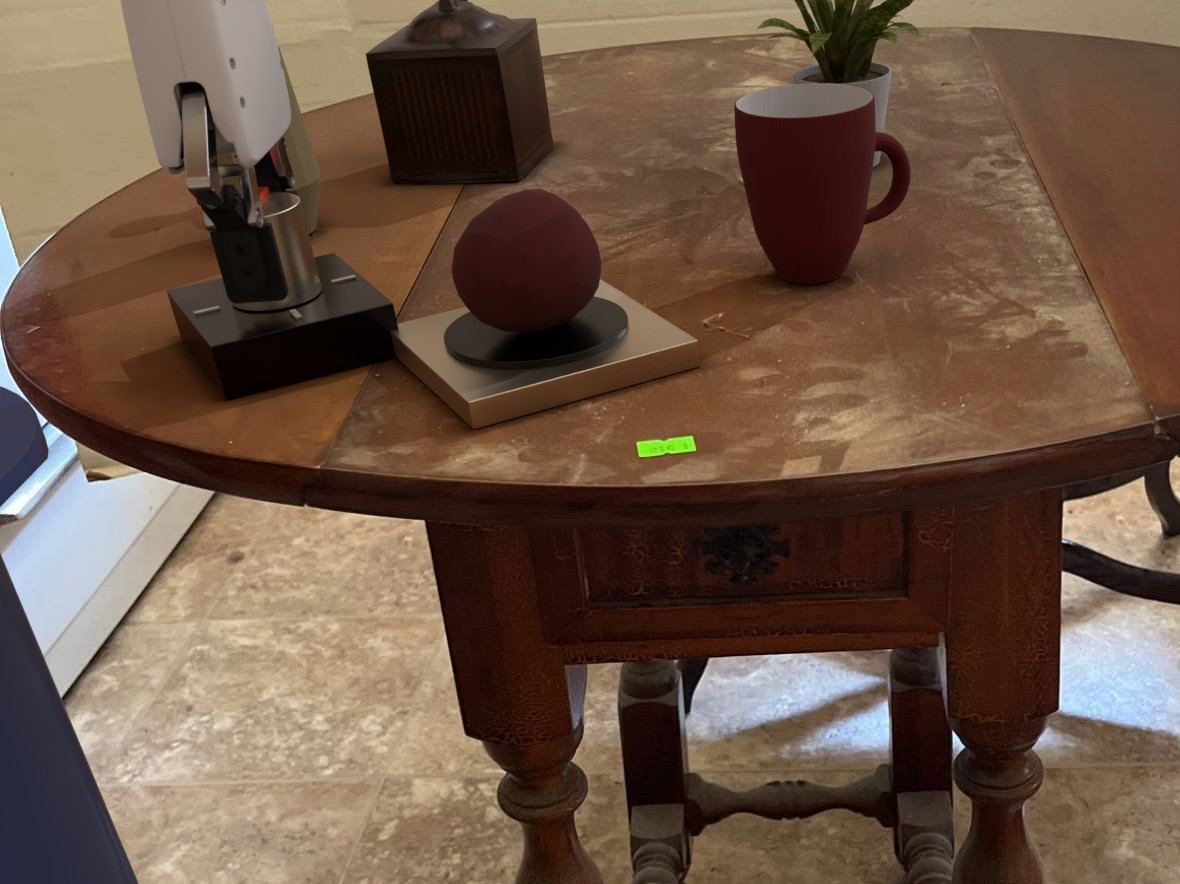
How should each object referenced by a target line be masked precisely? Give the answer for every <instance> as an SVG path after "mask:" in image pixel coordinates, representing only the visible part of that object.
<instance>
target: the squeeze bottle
mask: <svg viewBox="0 0 1180 884" xmlns="http://www.w3.org/2000/svg"><path fill="white" fill-rule="evenodd" d="M278 50H279V54H280V58H281V62H282V67H283V71H284V75H285V80H286V85H287V89H288V95H289V101H290V107H291V122H290V125H289V127H288V129H287V130H286V132H285V133H284V134H283V135H282V137H284V138H285V141H284V145H286V149H285V150H286V153H287V156H288V159H289V162H290V165H291V168H292V171H293V174H294V181H295V186H294V189H286V191H293V190H297V194H298V197H299V198H300V201H301V205H302V209H303V213H304V217H305V221H306V225H307V230H308V234H309V235H310V234H311V233H313V232H314V231H315V230H316V229H317V223H318V211H319V209H318V208H319V197H320V184H321V173H322V171H321V169H320V166H319V163H318V160H317V156H316V154H315V151H314V147H313V144H312V142H311V139H310V135H309V133H308V129H307V127H306V124H305V120H304V118H303V114H302V111H301V108H300V105H299V102H298V100H297V96H296V94H295V91H294V87H293V84H292V81H291V79H290V76H289V72H288V69H287V66H286V63H285V60H284V58H283V54H282V51H281V48H280V46H278ZM228 164H233V163H232V160H231V157H230V155H229V153H219V154H217V165H228ZM223 179H224V183H225V185H226V184H232V185H234V187H235V188H236V190H238V192H239V194H242V189H241V184H240V182H239V179H238V177H236V178H223Z"/></svg>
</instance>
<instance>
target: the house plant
mask: <svg viewBox="0 0 1180 884" xmlns="http://www.w3.org/2000/svg"><path fill="white" fill-rule="evenodd" d="M793 1H794V2H795V4H796V6H797V8H798V10H799V12H800V15H801V16H802V18H803V21H804V23H805V25H806V28H807V30H808V31H806V30H805V29H803V28H798V27H796V26H795V25H794V24H792V23H790V22H788V21H787V20H784V19H782V18H777V17H772V18H771V17H770V18H768V19H765V20H764V21H762V23H761V24H760V25H759V26H758V27H757V29H756V31H758V30H759V29H763V28H771V27H775V28H781V29H782V28H783V29H784V31H791V32H793V33H788V32H783V33H776V34H772V35H770V36H769V37H767V38H766V40H769V39H774V38H780V37H781V38H783V37H787V38H793V39H797V40H799V41H802V42H804V43H805V45H806V46H807V48H808V49H809V51H810V52H811V57H812V60H813V58H814V59H815V60H816V62H817V63H816V64H811V65H808V66H804V67H802V68H800V69H798V70H796V71H794V72H793V76H792V78H793V84H806V83H833V84H844V85H852V86H857V87H861V88H864V89H866V90H868V91H870V92H871V93H872V94H873V95H874V98H875V120H876V132H881V133H885V125H886V119H887V111H888V103H889V95H890V89H891V82H892V76H893V75H892V73H893V69H892V68H891V66H890V65H887V64H885V63H881V62H876V61H873V58H874V57H873V56H874V53H875V49H876V46H877V42H879V40H880V39H882V40H885V41H888V42H890V43H891V44H894V46H895V47H896V49H899V47H898V44H897V39H898V38H897V37H898V35H897V34H896V33H894V32H892V31H886V30H887V29H889V28H891V27H895V28H899V29H902V30H904V31H906V32H908V33H910V34H912V35H913V36H914V37H915V38H916V39H917V41H918V43H919V45H920V46H921V40H920V32H919V29H918V28H917V27H916V25H914V24H912V23H910V22H906V21H905V22H904V21H898V22H895V21H893V20H892V19H894V18H897V17H901V18H902V19H904V17H903V16H902V15H899V14H898V13H900V12H902V11H903V10H905V9H906V8H908V7H910V6H911V5H912V4H913V2H914V0H884V1H882V2H881V3H880V4H877V5H876V6H874V7H872V5H873V3H874V1H875V0H833V1H832V0H806V1H807V4H808V7H809V8H810V11H811V13H812V15H813V18H814V19H813V18H812V16H811V14H810V12H809V10H808V8H807V6H806V4H805V1H804V0H793ZM833 3H834V4H833ZM814 20H815V21H814ZM815 22H816V23H815ZM816 24H817V25H816ZM889 24H890V25H889ZM794 33H795V34H794ZM881 154H882V151H876V152H875V154H874V162H873V168H874V167H876V166H878V165H879V164H880V160H881Z"/></svg>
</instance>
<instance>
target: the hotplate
mask: <svg viewBox="0 0 1180 884" xmlns="http://www.w3.org/2000/svg"><path fill="white" fill-rule="evenodd" d="M397 324H398V329H399V330H395V331H391V337H392V341H393V346H394V351H395V355H396V357H395V358H397V359H398V360H399V361H400V362H401V363H402V364H403V365H404V366H405V367H406V368H407V369H408V370H409V371H410V372H412V373H413V375H415V376H416V377H417V378H418V379H419V380H420V381H421V382H422V383H423V384H425V386H426V387H427V388H429V389H430V390H431V391H432V392H433V393H434V394H435V395H436V396H437V397H438V398H439V399H440V400H441V401H443V402H444V403H445V405H447V406H448V407H449V408H450V409H451V410H452V412H454V413H455V414H456V415H458V416H459V418H461V420H463V421H464V422H465V423H466V424H467V425H468V426H469V427H470V428H472V430H478V429H482V428H484V427H488V426H492V425H495V424H498V423H502V422H506V421H510V420H513V419H517V418H520V417H524V416H527V415H531V414H534V413H538V412H542V411H545V410H548V409H552V408H555V407H559V406H563V405H567V404H570V403H573V402H578V401H581V400H585V399H588V398H591V397H592V398H593V397H595V396H598V395H602V394H603V395H604V394H606V393H610V392H613V391H617V390H621V389H623V388H627V387H631V386H634V385H635V386H636V385H638V384H641V383H645V382H648V381H653V380H656V379H659V378H663V377H666V376H670V375H674V374H678V373H681V372H684V371H689V370H692V369H696V368H699V367H700V366H701V362H700V350H699V341H698V339H697V338H695V337H693V336H691V334H689V333H687V332H686V331H684V330H683V329H681V328H679V327H677V326H676V325H674V324H673V323H671V322H669V320H667V319H665V318H663V317H662V316H660V315H658V314H657V313H655V312H653V311H652V310H651V309H649V308H647V307H646V306H644V305H643V304H641V303H639V302H638V301H636V300H635V299H633V298H632V297H630V296H628V295H627V294H625V293H623V292H622V291H621V290H619V289H617V288H616V287H614V286H613V285H611V284H609V283H608V282H606V281H604V280H603V279H601V278H600V282H599V287H598V289H597V291H596V293H595V295H594V297H593V299H592V300H591V301H590V302H589V303H588V304H587V305H586V306H585V307H584V308H583V309H582V310H581V311H580V312H579V313H578V314H577V315H575V316H574V317H573V318H572V319H570V320H568V321H566V322H564V323H562V324H560V325H557V326H554V327H551V328H548V329H544V330H541V331H536V332H527V333H526V332H505V331H502V330H499V329H497V328H494V327H492V326H489V325H487V324H484V323H482V322H481V321H480V320H479V319H477V318H476V317H475V316H474V315H473V314H472V313H471V312H470V311H469V310H468V308H467V307H466V306H463V307H460V308H456V309H451V310H448V311H443V312H440V313H436V314H432V315H431V314H430V315H427V316H423V317H419V318H416V319H410V320H407V321H403V322H399V323H398V322H397Z"/></svg>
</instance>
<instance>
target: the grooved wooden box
mask: <svg viewBox="0 0 1180 884" xmlns="http://www.w3.org/2000/svg"><path fill="white" fill-rule="evenodd" d="M536 18H537V17H523V18H522V17H520V18H509V17H508V16H506V15H503V14H498V13H493V12H490V11H489V10H486V9H485V8H483V7H481V6H479V5H476V4H474V3H473V2H472V1H469V0H437V1H436V2H435V3H434V4H432V5H430V6H429V7H427V8H425V9H424V10H423V11H421V12H420V13H419V14H417V15H416V16H415V17H414V18H413V19H412V20H411V22H410V23H409V24H407V25H405V26H404V27H401V28H400V29H399V30H398V31H396V32H394V33H393V34H391V35H390V36H388V37H387V38H385V39H384V40H382V41H381V42H379V43H378V44H376V45H375V46H374V47H372V48H371V49H370V50H369V51H367V52H366V53H365V58H366V64H367V69H368V74H369V77H370V82H371V87H372V91H373V96H374V100H375V105H376V109H377V114H378V118H379V124H380V128H381V132H382V133H381V134H382V137H383V142H384V147H385V151H386V156H387V162H388V167H389V173H390V179H391V181H392V183H393V184H404V185H405V184H406V185H430V184H431V185H433V184H435V185H438V184H477V183H480V184H481V183H499V182H500V183H502V182H519V181H521V179H523V178H525V176H527V175H529V174H530V172H532V171H533V170H534V169H535V167H536V166H538V164H539V163H540V162H541V161H542V160H543V159H544V158H545V157H546V156H547V155H548V154H549V153H550V152H551V151H552V150H553V149H554V147H555V144H554V138H553V133H552V127H551V119H550V112H549V111H550V110H549V103H548V97H547V89H546V82H545V81H546V80H545V74H544V67H543V60H542V53H541V46H540V39H539V32H538V22H537V19H536Z"/></svg>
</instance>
